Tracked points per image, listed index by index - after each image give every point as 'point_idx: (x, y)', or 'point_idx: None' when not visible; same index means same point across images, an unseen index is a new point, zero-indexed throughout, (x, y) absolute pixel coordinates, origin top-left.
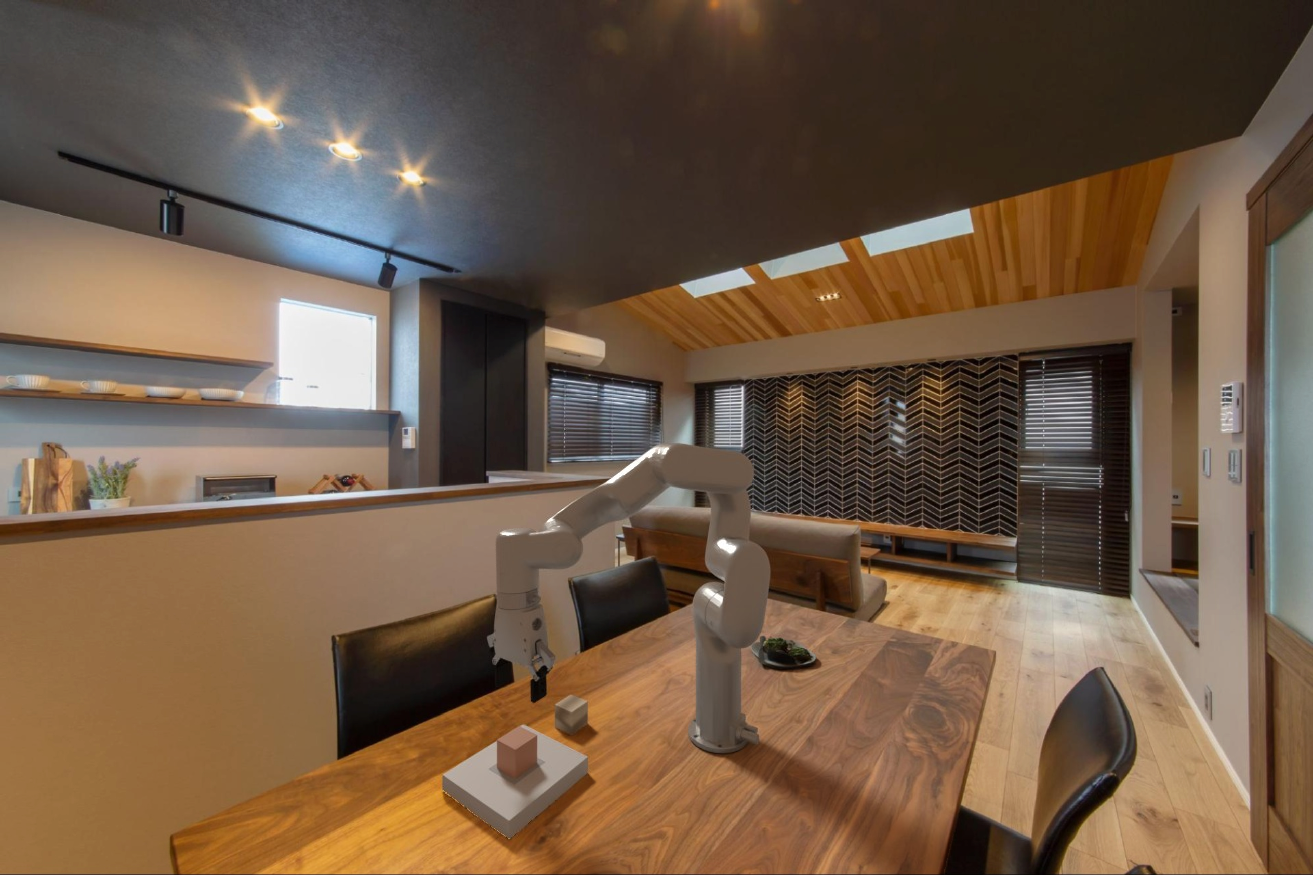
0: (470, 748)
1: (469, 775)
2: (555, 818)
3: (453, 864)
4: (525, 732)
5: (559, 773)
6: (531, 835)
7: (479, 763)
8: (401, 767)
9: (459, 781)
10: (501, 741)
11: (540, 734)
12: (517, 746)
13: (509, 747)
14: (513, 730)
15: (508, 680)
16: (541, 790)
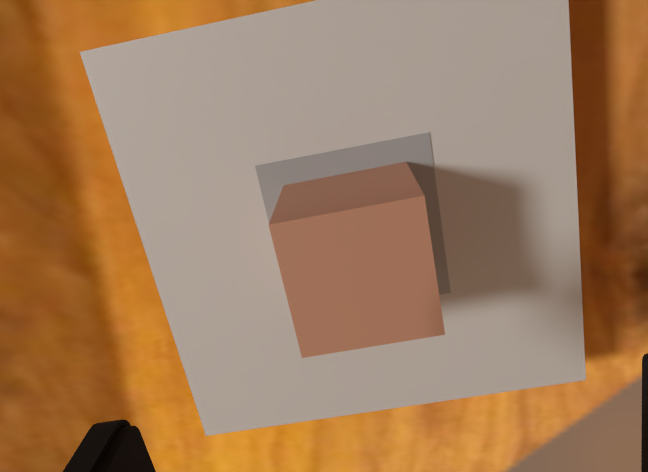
0: (41, 247)
1: (277, 379)
2: (615, 203)
3: (507, 466)
4: (351, 229)
5: (543, 127)
6: (603, 292)
7: (236, 328)
8: (13, 440)
9: (282, 411)
10: (329, 348)
11: (225, 31)
12: (428, 315)
13: (399, 340)
14: (286, 265)
15: (138, 451)
16: (562, 236)
